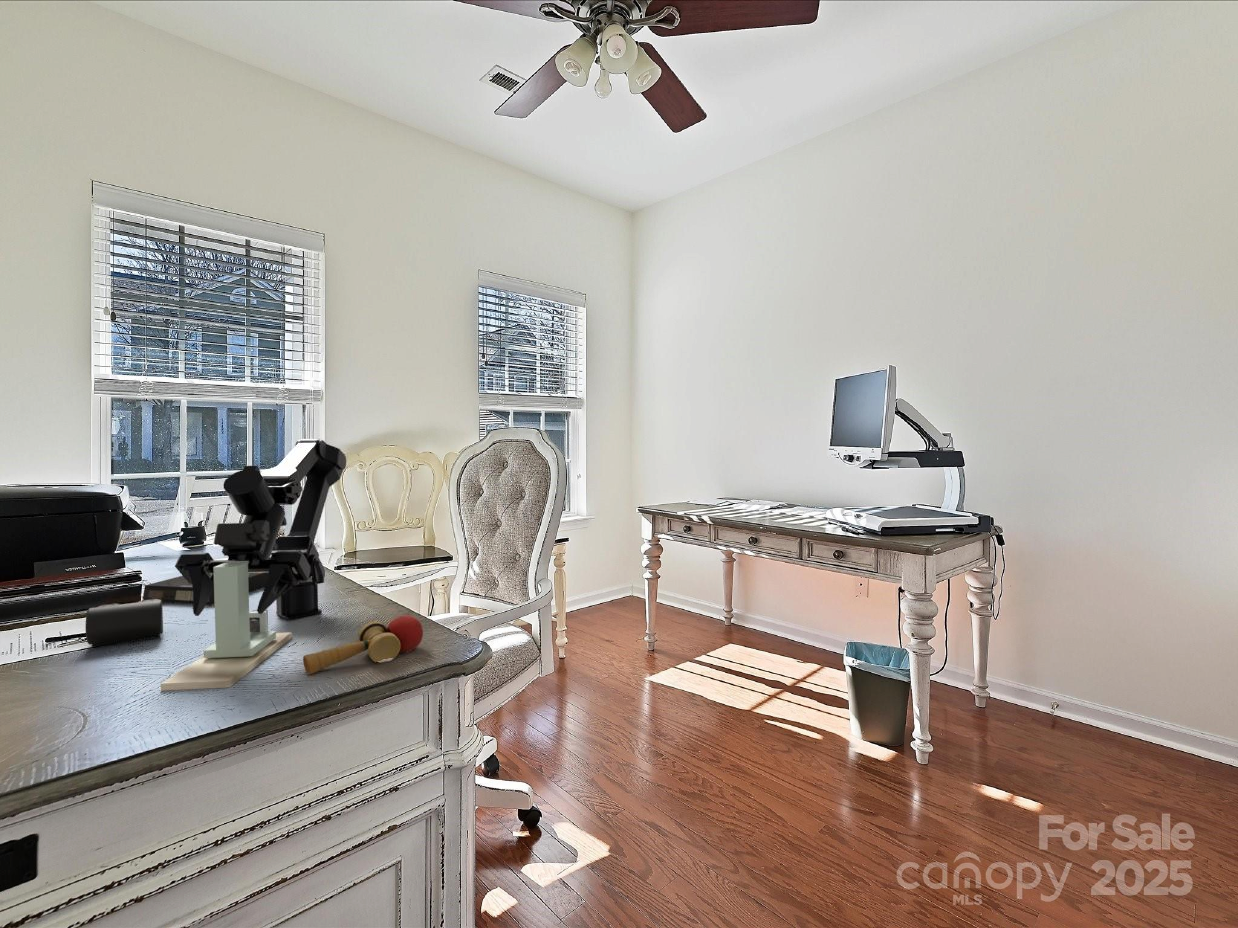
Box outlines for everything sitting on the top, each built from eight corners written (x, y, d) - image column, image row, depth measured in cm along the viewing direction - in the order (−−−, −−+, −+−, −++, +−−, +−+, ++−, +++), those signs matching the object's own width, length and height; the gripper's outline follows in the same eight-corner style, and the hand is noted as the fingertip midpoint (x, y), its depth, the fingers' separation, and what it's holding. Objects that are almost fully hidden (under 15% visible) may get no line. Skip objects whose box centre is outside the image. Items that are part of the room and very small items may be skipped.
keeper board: (237, 639, 104) (236, 608, 104) (291, 637, 105) (290, 606, 105) (160, 690, 83) (159, 651, 83) (229, 687, 85) (228, 648, 84)
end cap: (86, 653, 98) (84, 612, 98) (93, 641, 104) (91, 602, 104) (162, 641, 104) (160, 603, 104) (164, 630, 110) (163, 594, 109)
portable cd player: (142, 604, 128) (142, 585, 128) (209, 584, 145) (209, 568, 145) (208, 607, 125) (208, 589, 125) (269, 587, 142) (269, 571, 142)
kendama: (317, 692, 86) (434, 646, 98) (307, 650, 86) (425, 609, 98) (305, 685, 92) (416, 643, 104) (296, 645, 92) (408, 607, 104)
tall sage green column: (232, 639, 101) (229, 556, 100) (276, 637, 102) (274, 555, 101) (203, 658, 92) (200, 567, 92) (252, 656, 93) (249, 566, 92)
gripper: (180, 503, 96) (136, 588, 86) (302, 502, 98) (274, 584, 88) (208, 543, 104) (171, 625, 94) (320, 541, 107) (297, 620, 96)
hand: (227, 613), depth 93 cm, fingers open, 9 cm apart
